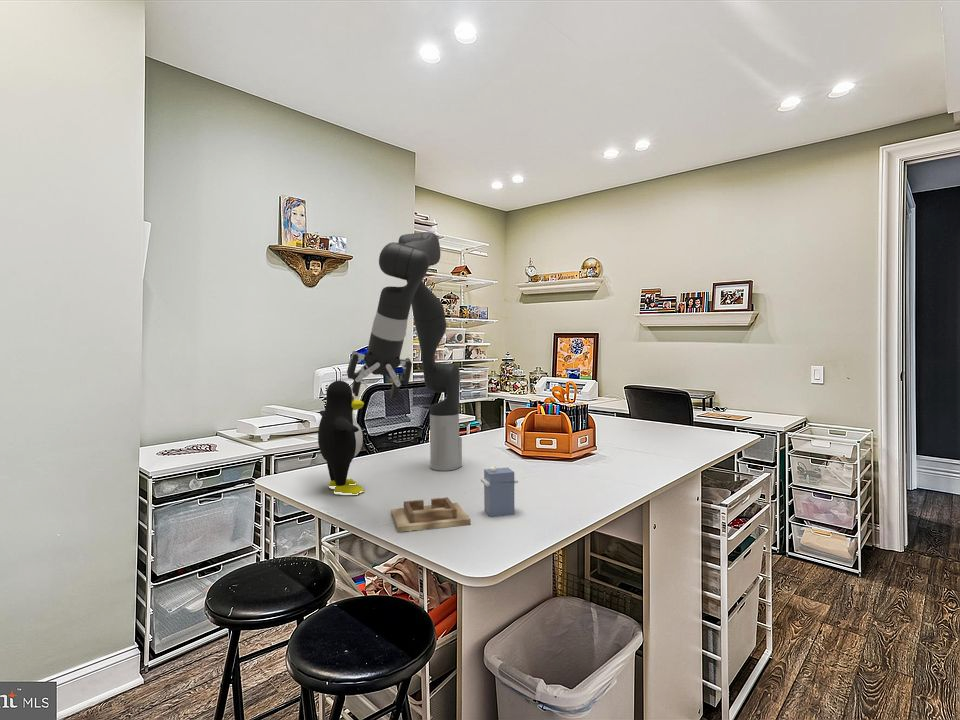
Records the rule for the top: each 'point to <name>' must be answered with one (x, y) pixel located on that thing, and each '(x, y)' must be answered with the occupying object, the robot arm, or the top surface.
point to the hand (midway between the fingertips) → (373, 396)
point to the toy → (340, 435)
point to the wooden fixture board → (429, 515)
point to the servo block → (498, 491)
